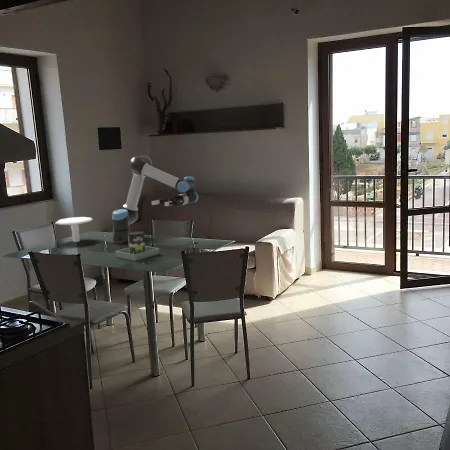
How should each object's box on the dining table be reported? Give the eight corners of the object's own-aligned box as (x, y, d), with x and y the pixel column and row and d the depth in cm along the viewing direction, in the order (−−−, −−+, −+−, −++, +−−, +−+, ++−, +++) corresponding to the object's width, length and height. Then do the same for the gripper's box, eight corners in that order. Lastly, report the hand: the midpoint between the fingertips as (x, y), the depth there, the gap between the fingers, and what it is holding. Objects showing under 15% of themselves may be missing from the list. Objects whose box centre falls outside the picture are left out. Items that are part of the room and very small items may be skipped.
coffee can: (147, 254, 311) (146, 232, 309) (132, 256, 307) (130, 235, 304) (142, 251, 320) (140, 230, 318) (127, 253, 316) (125, 232, 313)
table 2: (81, 246, 351) (78, 223, 348) (49, 244, 360) (46, 222, 357) (102, 237, 377) (100, 216, 374) (72, 237, 386) (69, 216, 383)
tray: (115, 257, 313) (115, 251, 312) (139, 250, 328) (139, 244, 327) (135, 261, 300) (134, 254, 299) (159, 254, 315) (159, 248, 314)
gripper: (193, 205, 341) (171, 210, 325) (169, 203, 357) (147, 208, 341) (192, 195, 339) (170, 199, 324) (168, 193, 356) (146, 197, 340)
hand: (158, 203), depth 332 cm, fingers open, 13 cm apart
